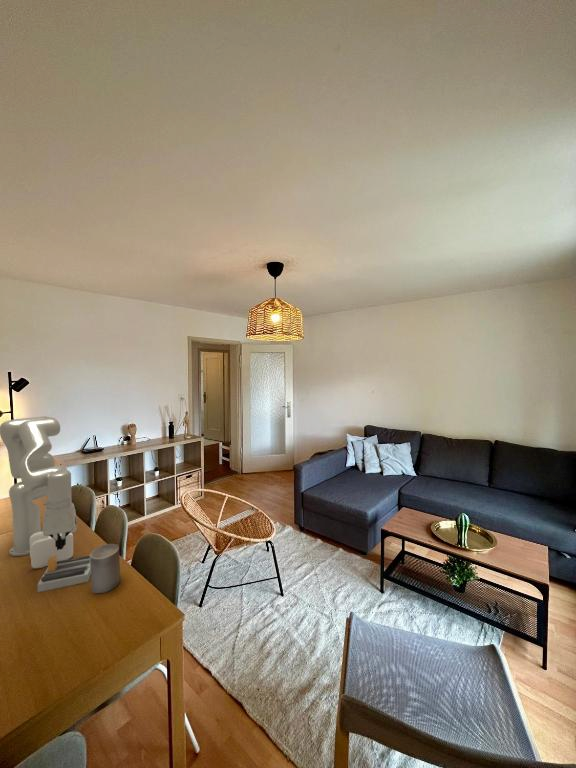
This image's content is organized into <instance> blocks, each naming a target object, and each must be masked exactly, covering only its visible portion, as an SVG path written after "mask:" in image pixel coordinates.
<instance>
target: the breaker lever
mask: <svg viewBox="0 0 576 768" xmlns="http://www.w3.org/2000/svg"><path fill="white" fill-rule="evenodd" d="M47 568H48V571H47V572H51V571H56V570H58V566H57V555H56V556H51V557H50V558H49V560H48V566H47Z"/></svg>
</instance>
